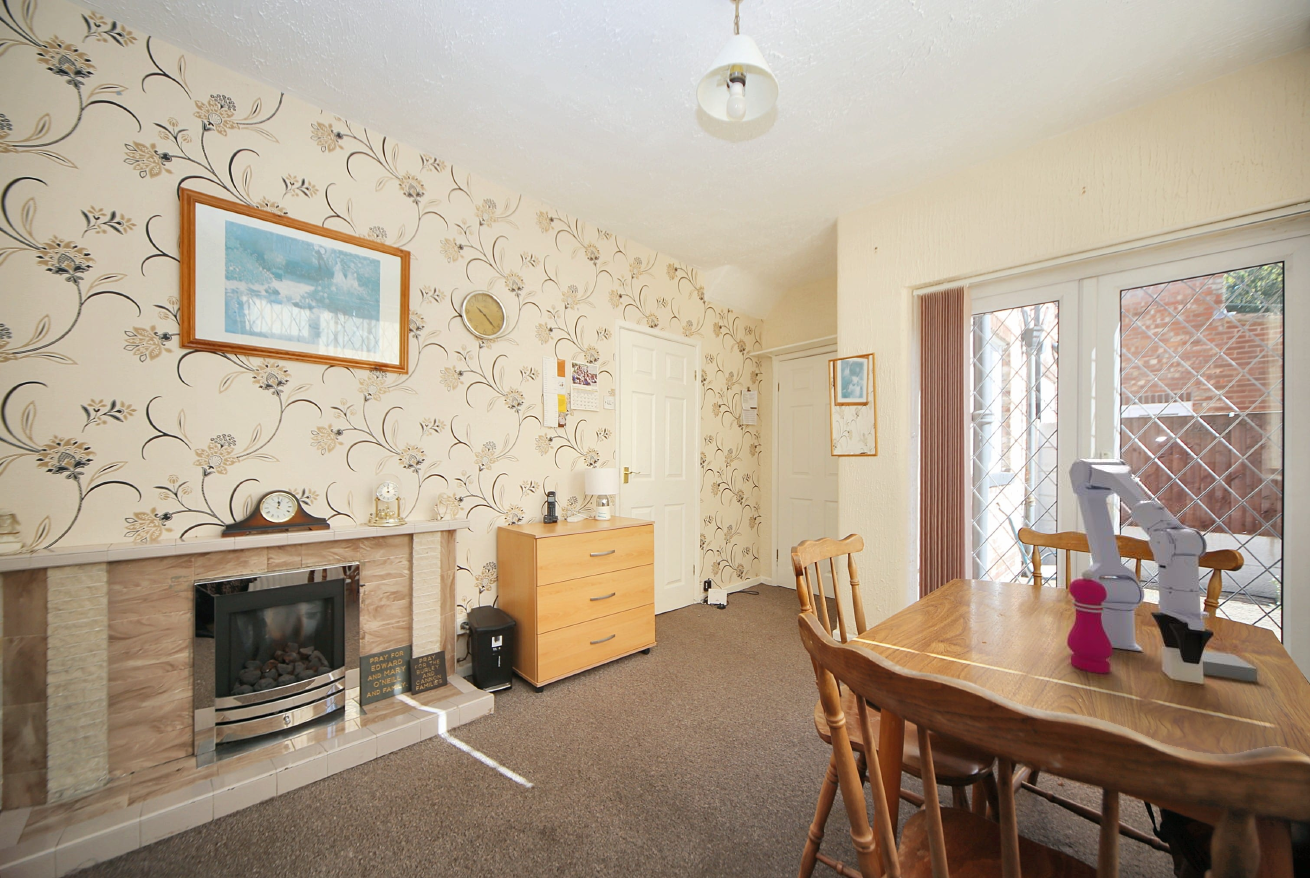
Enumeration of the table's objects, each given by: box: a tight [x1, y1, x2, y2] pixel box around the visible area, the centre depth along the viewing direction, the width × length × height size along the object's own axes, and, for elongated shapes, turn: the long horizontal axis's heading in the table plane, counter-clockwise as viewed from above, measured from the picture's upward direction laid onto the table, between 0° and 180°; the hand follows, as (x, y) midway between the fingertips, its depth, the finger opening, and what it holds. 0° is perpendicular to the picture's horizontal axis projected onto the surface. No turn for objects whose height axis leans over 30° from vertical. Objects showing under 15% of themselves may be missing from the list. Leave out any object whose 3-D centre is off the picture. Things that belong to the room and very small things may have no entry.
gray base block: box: [1201, 650, 1258, 683], centre depth 103 cm, size 8×8×3 cm
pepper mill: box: [1066, 571, 1114, 674], centre depth 104 cm, size 7×7×20 cm
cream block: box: [1161, 646, 1204, 685], centre depth 99 cm, size 4×4×5 cm
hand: (1181, 656), depth 99 cm, fingers open, 7 cm apart
